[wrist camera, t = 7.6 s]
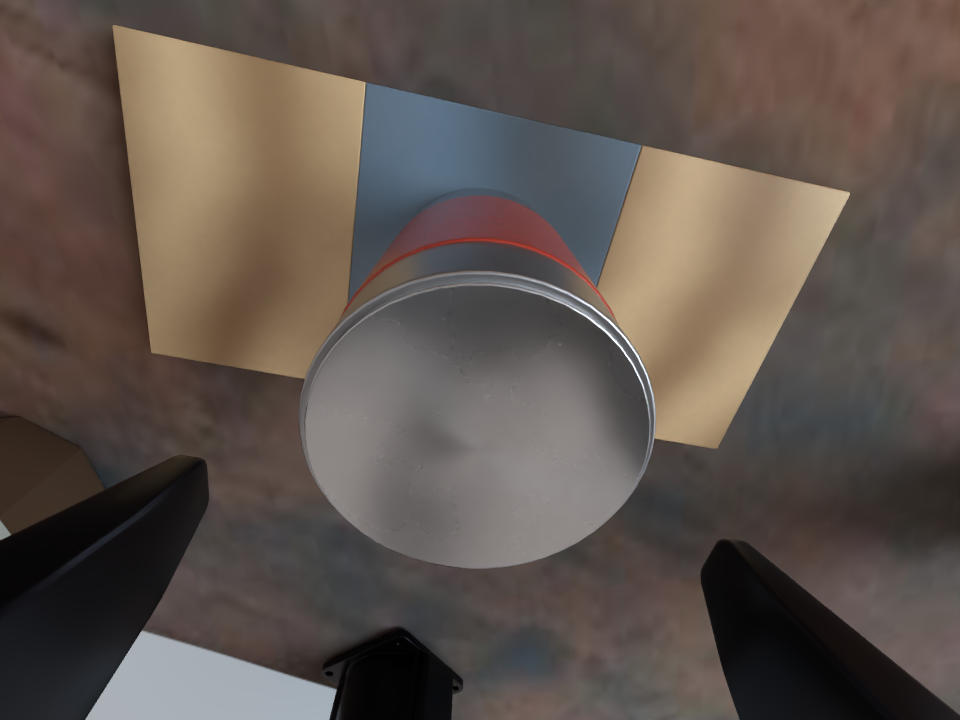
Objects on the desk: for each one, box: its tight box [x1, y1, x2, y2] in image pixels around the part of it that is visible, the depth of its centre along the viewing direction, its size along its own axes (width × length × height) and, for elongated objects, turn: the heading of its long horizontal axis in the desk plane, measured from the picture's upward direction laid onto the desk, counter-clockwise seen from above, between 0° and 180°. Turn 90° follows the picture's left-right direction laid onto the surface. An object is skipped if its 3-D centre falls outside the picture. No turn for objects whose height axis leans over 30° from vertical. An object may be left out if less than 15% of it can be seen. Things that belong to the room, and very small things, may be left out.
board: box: [112, 25, 850, 449], centre depth 18 cm, size 24×11×1 cm, turn 79°
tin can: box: [299, 189, 656, 568], centre depth 13 cm, size 6×6×10 cm
